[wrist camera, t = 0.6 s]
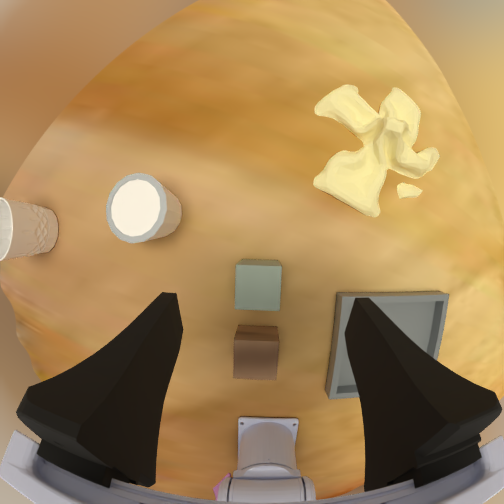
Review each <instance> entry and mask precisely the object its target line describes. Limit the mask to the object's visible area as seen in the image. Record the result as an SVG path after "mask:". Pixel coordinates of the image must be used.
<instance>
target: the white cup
mask: <svg viewBox="0 0 504 504" xmlns="http://www.w3.org/2000/svg"><path fill="white" fill-rule="evenodd" d="M58 228H59V227H58V222H57V217H56V216H55V214H54V212H53V211H52V210H50V209H48V208H46V207H40V206H38V205H34V204H30V203H26V202H21V201H16V200H11V199H6V198H0V261H3V260H9V259H16V258H21V257H28V256H32V255H35V254H39V253H45V252H49V251H50V250H51V249H52V248H53V247H54V245H55V243H56V240H57V238H58Z"/></svg>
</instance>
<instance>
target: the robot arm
mask: <svg viewBox="0 0 504 504" xmlns="http://www.w3.org/2000/svg"><path fill="white" fill-rule="evenodd" d="M182 334H183V326H182V321H181V316H180V310H179V305H178V300H177V294H176V293H165V292H162V293H161V294H160V295H159V296H158V297H157V298H156V299H155V300H154V301H153V302H152V303H151V304H150V305H149V306H148V307H147V308H146V309H145V310H144V311H143V312H142V313H141V314H140V315H139V316H138V317H137V318H136V319H135V320H134V321H133V322H132V323H131V324H130V325H129V326H128V327H126V328H125V329H124V330H123V331H122V332H121V333H120V334H119V335H117V336H116V337H115V338H114V339H113V340H112V341H110V342H109V343H108V344H107V345H105V346H104V347H103V348H101V349H100V350H99V351H97V352H96V353H95V354H93V355H92V356H90V357H88V358H87V359H85V360H84V361H82V362H81V363H79V364H77V365H76V366H74V367H72V368H71V369H69V370H67V371H65V372H63V373H61V374H59V375H57V376H55V377H53V378H51V379H48V380H46V381H43V382H41V383H38V384H36V385H33V386H30V387H29V388H28V389H27V391H26V393H25V395H24V397H23V399H22V401H21V403H20V405H19V407H18V409H17V411H16V413H17V416H18V418H19V419H20V420H21V421H22V422H23V423H24V424H25V425H26V426H27V427H28V428H29V429H31V430H32V431H33V432H34V433H35V434H36V435H38V436H39V437H40V438H41V439H42V440H41V443H40V444H39V443H37V442H36V441H34V440H32V439H31V438H29V437H27V436H26V435H24V434H22V433H21V432H19V431H17V430H14V433H13V435H12V437H11V440H10V442H9V445H8V447H7V450H6V452H5V455H4V458H3V460H2V463H1V466H0V477H1V478H2V479H3V480H4V481H6V482H7V483H8V484H10V485H11V486H12V487H13V488H15V489H16V490H17V491H19V492H20V493H21V494H23V495H24V496H25V497H27V498H28V499H29V500H31V501H32V502H34V503H35V504H483V503H484V502H486V501H487V500H489V499H490V498H491V497H493V496H494V495H495V494H497V493H498V492H499V491H501V490H502V489H503V488H504V440H503V437H502V436H498V437H497V438H495V439H493V440H492V441H490V442H488V443H486V444H485V445H483V446H481V447H480V448H479V446H478V442H480V441H481V437H480V434H479V433H480V432H482V431H483V430H484V429H485V428H486V427H487V426H489V425H490V424H491V423H492V422H493V421H494V420H495V419H496V418H497V417H498V416H499V415H500V413H501V411H502V407H501V405H500V403H499V400H498V398H497V396H496V394H495V392H493V391H491V390H488V389H486V388H483V387H481V386H479V385H476V384H474V383H472V382H470V381H469V380H467V379H465V378H463V377H461V376H459V375H458V374H456V373H454V372H453V371H451V370H450V369H448V368H447V367H445V366H444V365H442V364H441V363H439V362H438V361H436V360H435V359H434V358H433V357H431V356H430V355H429V354H427V353H426V352H425V351H424V350H422V349H421V348H420V347H419V346H418V345H417V344H416V343H414V342H413V341H412V340H411V339H410V338H409V337H408V336H407V335H406V334H405V333H404V332H403V331H402V330H401V329H400V328H399V327H398V326H397V325H396V324H395V323H394V322H393V321H392V320H391V319H390V318H389V317H388V316H387V315H386V314H385V313H384V312H383V311H382V310H381V309H380V308H379V307H378V306H377V305H376V304H375V303H374V302H373V301H372V300H371V299H370V298H369V297H364V298H355V300H354V303H353V307H352V310H351V313H350V317H349V320H348V323H347V326H346V329H345V332H344V335H345V341H346V348H347V354H348V358H349V361H350V365H351V368H352V372H353V375H354V379H355V383H356V386H357V390H358V394H359V397H360V402H361V408H362V416H363V424H364V436H365V482H364V491H365V492H363V493H358V494H353V495H348V496H343V497H336V498H329V499H321V500H316V496H315V488H314V483H313V481H312V480H311V479H309V477H307V476H303V477H302V478H301V474H300V470H297V465H296V456H295V442H296V436H297V429H298V423H299V421H298V419H297V418H257V417H240V418H239V420H238V465H237V470H235V471H234V473H233V479H232V478H231V477H226V478H225V479H224V480H223V481H222V482H221V483H220V486H219V490H218V498H217V501H215V500H206V499H198V498H192V497H185V496H179V495H174V494H169V493H164V492H160V491H155V490H151V489H147V488H143V487H139V486H136V485H142V486H145V487H150V486H152V485H154V484H155V483H156V457H157V446H158V436H159V429H160V421H161V415H162V409H163V404H164V399H165V395H166V392H167V389H168V385H169V382H170V379H171V376H172V373H173V369H174V366H175V363H176V360H177V357H178V353H179V350H180V345H181V339H182ZM241 422H243V423H241ZM294 423H295V425H293V424H294ZM129 483H132V484H135V485H132V484H129Z"/></svg>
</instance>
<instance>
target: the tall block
mask: <svg viewBox="0 0 504 504" xmlns="http://www.w3.org/2000/svg"><path fill="white" fill-rule="evenodd" d="M281 273H282V266H281V264H280V263H279V261H278V260H256V259H242V260H241V261H240V262H238V263H237V264H236V278H235V309H242V310H266V311H280V295H281Z"/></svg>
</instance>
